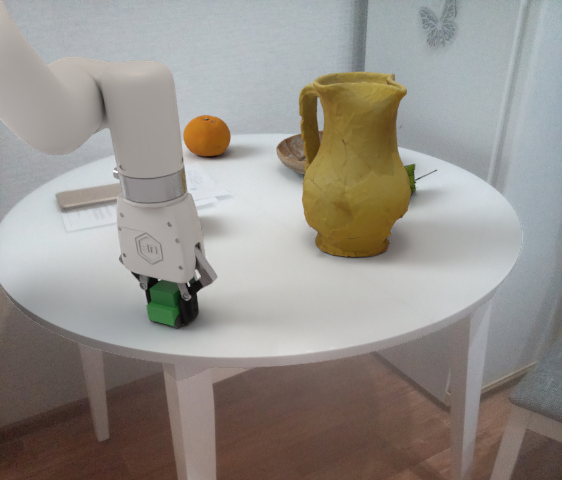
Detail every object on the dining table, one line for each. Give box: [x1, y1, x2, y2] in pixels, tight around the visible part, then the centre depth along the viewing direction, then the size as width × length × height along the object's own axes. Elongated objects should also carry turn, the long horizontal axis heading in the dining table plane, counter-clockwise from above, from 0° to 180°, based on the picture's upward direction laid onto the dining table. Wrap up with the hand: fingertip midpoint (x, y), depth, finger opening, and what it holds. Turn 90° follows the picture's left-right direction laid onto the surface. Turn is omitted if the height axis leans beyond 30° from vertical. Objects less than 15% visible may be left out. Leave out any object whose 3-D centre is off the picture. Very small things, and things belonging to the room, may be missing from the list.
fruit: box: [183, 114, 232, 157], centre depth 127 cm, size 10×10×8 cm
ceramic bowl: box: [275, 130, 323, 176], centre depth 119 cm, size 23×24×5 cm
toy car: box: [145, 279, 183, 329], centre depth 75 cm, size 6×4×5 cm
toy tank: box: [403, 163, 438, 194], centre depth 107 cm, size 7×19×10 cm
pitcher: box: [298, 71, 412, 258], centre depth 87 cm, size 17×19×25 cm
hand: (174, 314), depth 76 cm, fingers closed on toy car, 4 cm apart
